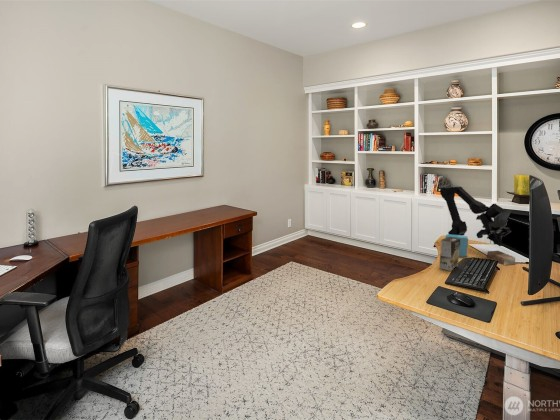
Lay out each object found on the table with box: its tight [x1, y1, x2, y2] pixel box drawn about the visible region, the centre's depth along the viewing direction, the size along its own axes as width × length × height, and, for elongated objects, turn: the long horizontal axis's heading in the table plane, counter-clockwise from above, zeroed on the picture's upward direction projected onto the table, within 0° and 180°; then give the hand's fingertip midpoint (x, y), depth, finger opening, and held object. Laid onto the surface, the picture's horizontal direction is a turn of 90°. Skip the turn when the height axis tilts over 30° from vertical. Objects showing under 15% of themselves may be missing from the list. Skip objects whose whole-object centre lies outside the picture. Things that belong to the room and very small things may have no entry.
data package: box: [444, 234, 469, 258], centre depth 203 cm, size 12×4×12 cm, turn 64°
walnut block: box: [486, 250, 516, 266], centre depth 193 cm, size 4×7×12 cm
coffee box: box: [438, 237, 460, 272], centre depth 183 cm, size 9×6×16 cm
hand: (500, 245), depth 193 cm, fingers closed
